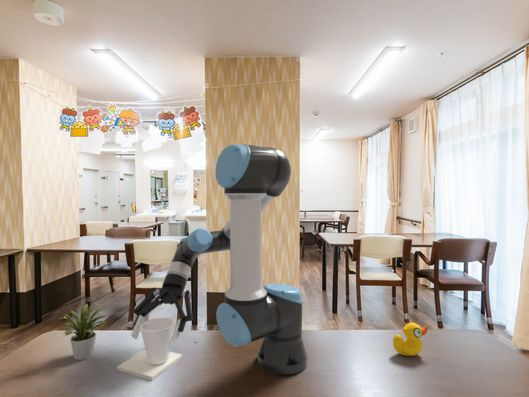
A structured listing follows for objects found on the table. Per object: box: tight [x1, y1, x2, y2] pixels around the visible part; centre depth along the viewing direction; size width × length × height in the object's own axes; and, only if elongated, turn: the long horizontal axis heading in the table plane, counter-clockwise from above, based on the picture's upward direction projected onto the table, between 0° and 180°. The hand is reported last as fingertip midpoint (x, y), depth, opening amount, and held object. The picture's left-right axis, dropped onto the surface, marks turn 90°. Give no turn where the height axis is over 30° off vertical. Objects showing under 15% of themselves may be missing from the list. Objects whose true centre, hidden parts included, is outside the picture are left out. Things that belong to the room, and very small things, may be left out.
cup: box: [140, 317, 175, 365], centre depth 96 cm, size 10×10×11 cm
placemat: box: [116, 349, 183, 381], centre depth 97 cm, size 13×13×1 cm
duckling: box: [392, 322, 429, 357], centre depth 102 cm, size 11×5×10 cm, turn 98°
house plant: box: [59, 303, 111, 361], centre depth 99 cm, size 14×14×16 cm
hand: (153, 339), depth 98 cm, fingers open, 13 cm apart
